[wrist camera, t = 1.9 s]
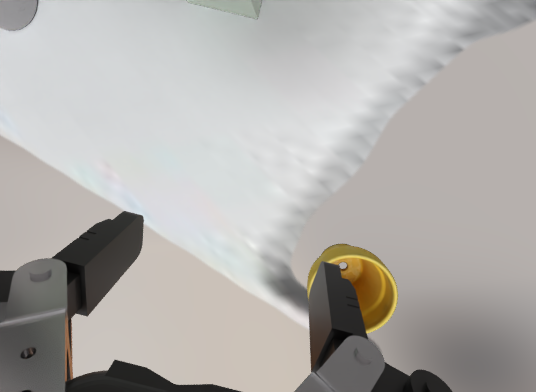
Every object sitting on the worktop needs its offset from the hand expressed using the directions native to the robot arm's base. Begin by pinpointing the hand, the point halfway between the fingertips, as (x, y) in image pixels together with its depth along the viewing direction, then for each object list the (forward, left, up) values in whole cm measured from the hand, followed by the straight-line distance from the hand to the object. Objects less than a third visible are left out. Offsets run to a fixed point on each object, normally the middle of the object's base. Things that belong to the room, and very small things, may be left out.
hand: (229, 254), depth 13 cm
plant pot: (+12, -10, -30) cm, 34 cm away
